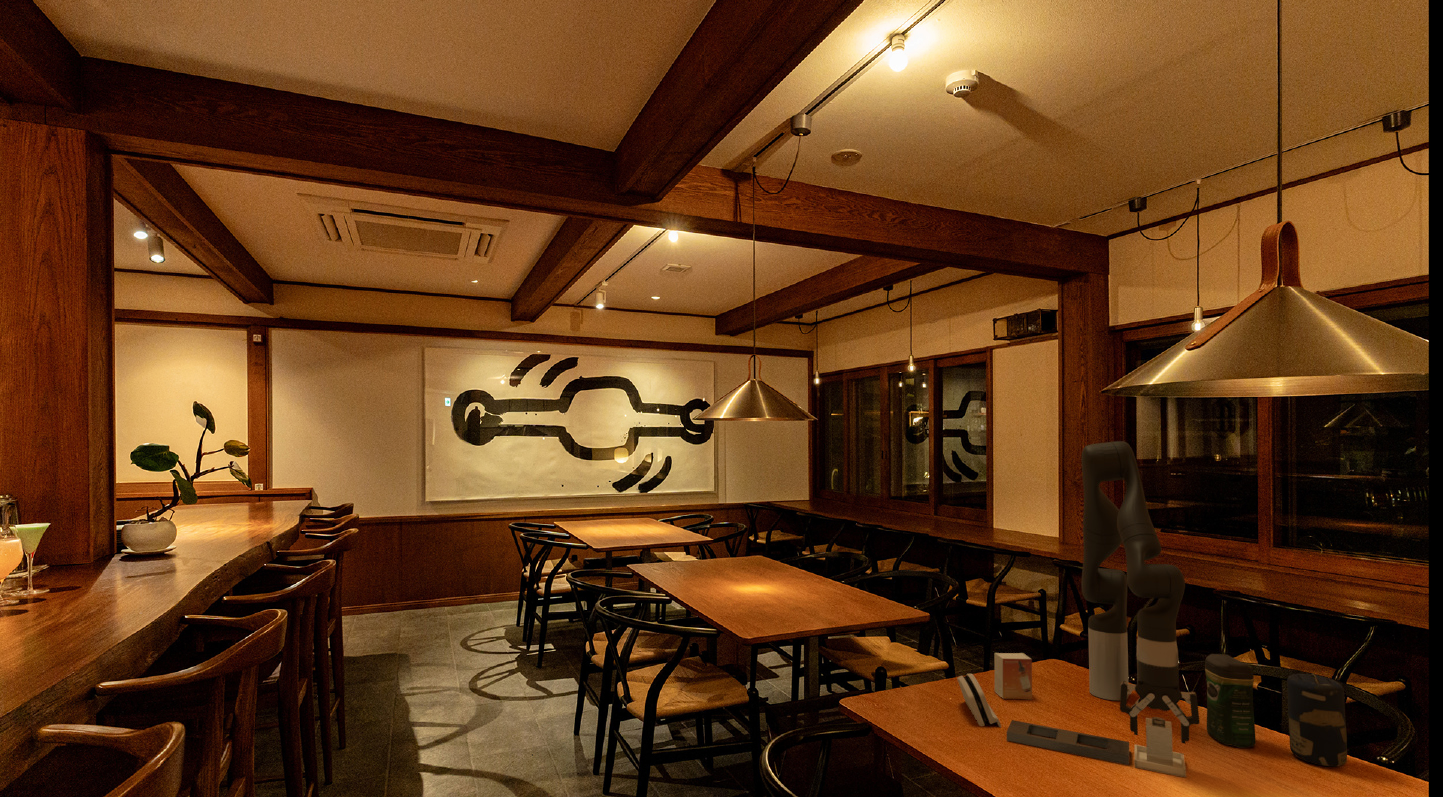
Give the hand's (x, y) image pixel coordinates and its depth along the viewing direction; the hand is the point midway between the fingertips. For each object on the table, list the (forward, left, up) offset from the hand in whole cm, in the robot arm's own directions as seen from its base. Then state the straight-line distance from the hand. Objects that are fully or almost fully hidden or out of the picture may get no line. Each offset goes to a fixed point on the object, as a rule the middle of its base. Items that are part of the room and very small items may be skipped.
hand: (1159, 738), depth 152 cm
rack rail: (0, -18, -5) cm, 18 cm away
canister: (-20, +29, -6) cm, 36 cm away
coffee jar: (-23, +14, -6) cm, 28 cm away
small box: (-28, -33, -6) cm, 43 cm away
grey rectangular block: (0, 0, -5) cm, 5 cm away
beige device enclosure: (-10, -38, -6) cm, 40 cm away
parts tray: (0, 0, -5) cm, 5 cm away
